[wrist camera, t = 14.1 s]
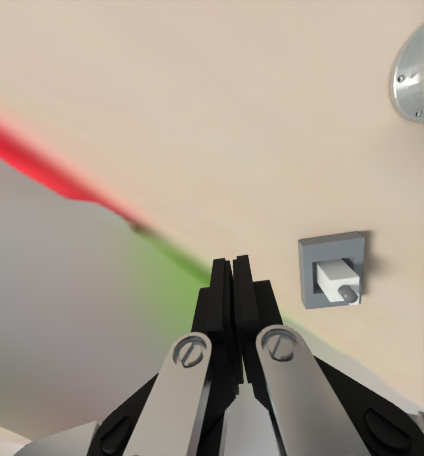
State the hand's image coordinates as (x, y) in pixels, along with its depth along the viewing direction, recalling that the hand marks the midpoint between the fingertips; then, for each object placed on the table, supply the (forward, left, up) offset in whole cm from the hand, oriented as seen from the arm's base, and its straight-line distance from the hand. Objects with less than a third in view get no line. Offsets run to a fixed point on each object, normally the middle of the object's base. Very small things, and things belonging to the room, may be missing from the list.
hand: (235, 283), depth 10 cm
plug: (-16, +19, -27) cm, 36 cm away
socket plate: (-16, +19, -27) cm, 37 cm away
